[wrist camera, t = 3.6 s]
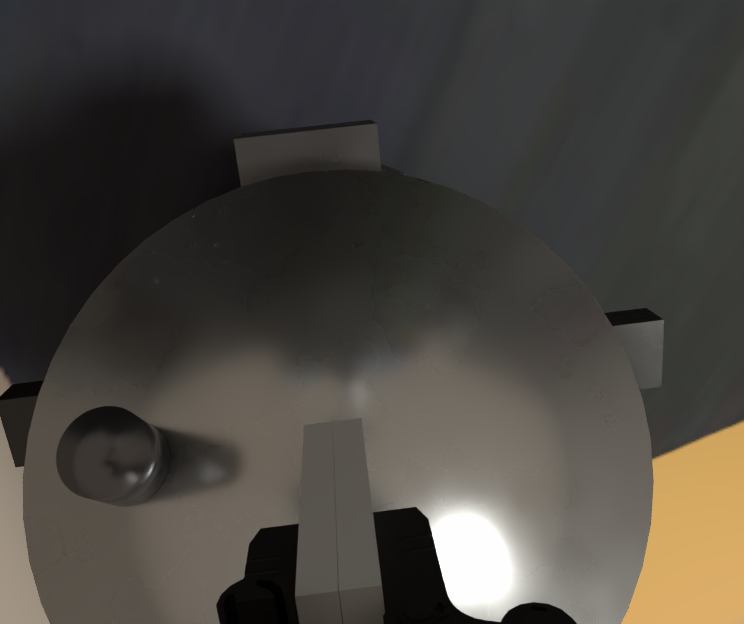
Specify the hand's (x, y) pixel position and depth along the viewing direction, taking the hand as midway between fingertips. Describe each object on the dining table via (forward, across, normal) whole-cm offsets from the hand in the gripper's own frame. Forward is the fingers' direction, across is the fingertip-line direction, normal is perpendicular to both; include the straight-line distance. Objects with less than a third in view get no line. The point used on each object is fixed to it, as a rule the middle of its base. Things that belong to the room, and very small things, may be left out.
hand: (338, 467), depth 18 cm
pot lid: (+1, 0, -2) cm, 2 cm away
